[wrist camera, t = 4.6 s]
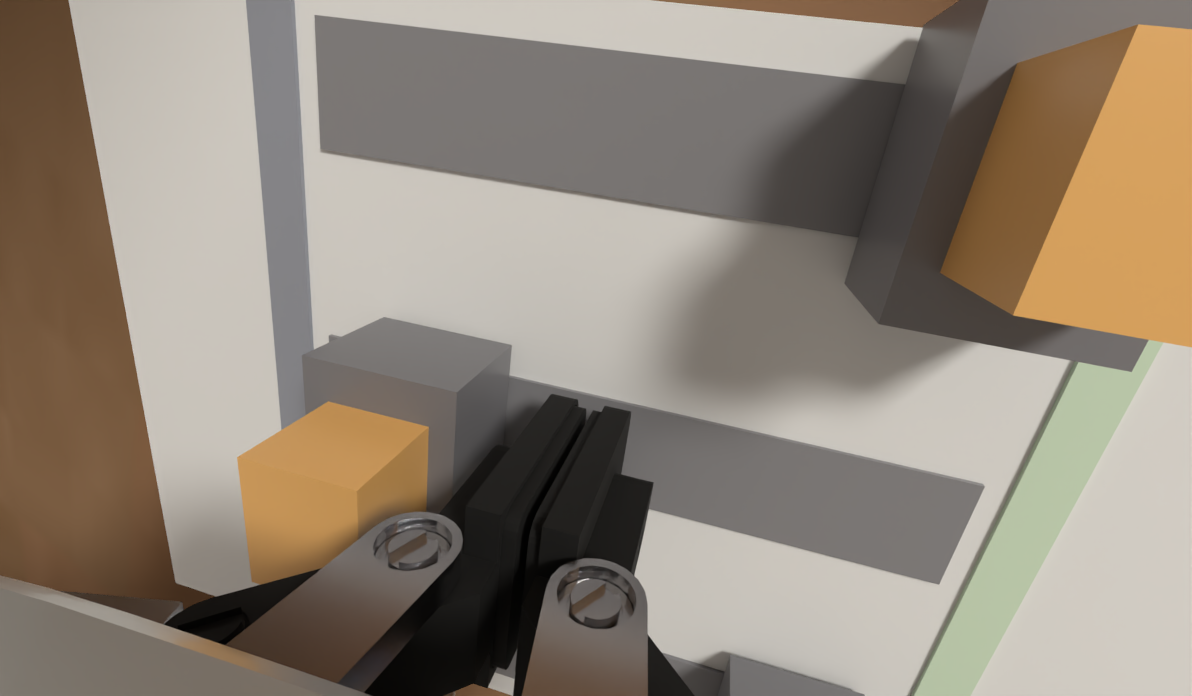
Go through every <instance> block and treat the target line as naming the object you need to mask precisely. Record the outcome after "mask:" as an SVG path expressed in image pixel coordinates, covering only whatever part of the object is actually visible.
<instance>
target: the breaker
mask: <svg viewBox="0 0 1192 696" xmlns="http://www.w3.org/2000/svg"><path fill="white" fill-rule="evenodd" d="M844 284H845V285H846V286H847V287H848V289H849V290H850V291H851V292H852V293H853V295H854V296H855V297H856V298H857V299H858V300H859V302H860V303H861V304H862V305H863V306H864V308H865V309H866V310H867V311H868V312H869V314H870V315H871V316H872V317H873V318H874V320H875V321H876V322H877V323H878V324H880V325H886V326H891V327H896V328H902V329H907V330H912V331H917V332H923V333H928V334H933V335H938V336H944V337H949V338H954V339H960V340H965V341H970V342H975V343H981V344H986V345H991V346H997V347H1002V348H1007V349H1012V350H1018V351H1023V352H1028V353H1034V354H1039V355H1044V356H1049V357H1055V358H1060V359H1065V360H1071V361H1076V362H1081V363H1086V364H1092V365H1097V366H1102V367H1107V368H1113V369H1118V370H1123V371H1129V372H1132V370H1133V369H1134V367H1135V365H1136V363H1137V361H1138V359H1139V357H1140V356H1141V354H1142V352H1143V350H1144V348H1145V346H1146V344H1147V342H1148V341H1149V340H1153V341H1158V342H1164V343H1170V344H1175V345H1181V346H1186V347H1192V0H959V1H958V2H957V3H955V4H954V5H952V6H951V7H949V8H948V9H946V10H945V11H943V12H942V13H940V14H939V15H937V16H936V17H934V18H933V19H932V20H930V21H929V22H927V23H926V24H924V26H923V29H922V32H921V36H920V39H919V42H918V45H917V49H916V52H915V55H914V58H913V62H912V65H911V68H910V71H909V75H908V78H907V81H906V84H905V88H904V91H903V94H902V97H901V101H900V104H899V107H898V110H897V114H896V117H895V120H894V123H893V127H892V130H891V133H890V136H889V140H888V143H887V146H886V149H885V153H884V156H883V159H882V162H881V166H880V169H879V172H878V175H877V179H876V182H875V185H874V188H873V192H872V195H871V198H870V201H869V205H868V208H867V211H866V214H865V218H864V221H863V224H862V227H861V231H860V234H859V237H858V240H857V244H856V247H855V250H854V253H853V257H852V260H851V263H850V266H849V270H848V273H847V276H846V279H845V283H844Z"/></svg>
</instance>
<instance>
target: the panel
mask: <svg viewBox="0 0 1192 696" xmlns="http://www.w3.org/2000/svg"><path fill="white" fill-rule="evenodd" d="M69 6H70V11H71V16H72V22H73V27H74V33H75V38H76V44H77V49H78V55H79V60H80V65H81V71H82V76H83V82H84V87H85V93H86V98H87V103H88V109H89V114H90V120H91V125H92V131H93V136H94V142H95V147H96V152H97V158H98V163H99V169H100V174H101V180H102V185H103V190H104V196H105V201H106V207H107V212H108V218H109V223H110V229H111V234H112V239H113V245H114V250H115V256H116V261H117V267H118V272H119V278H120V283H121V288H122V294H123V299H124V305H125V310H126V316H127V321H128V326H129V332H130V337H131V343H132V348H133V354H134V359H135V365H136V370H137V375H138V381H139V386H140V392H141V397H142V403H143V408H144V413H145V419H146V424H147V430H148V435H149V441H150V446H151V452H152V457H153V462H154V468H155V473H156V479H157V484H158V490H159V495H160V501H161V506H162V511H163V517H164V522H165V528H166V533H167V539H168V544H169V549H170V555H171V560H172V566H173V571H174V577H175V582H176V583H177V584H180V585H183V586H186V587H189V588H192V589H195V590H198V591H201V592H204V593H207V594H210V595H213V596H216V597H217V596H220V595H224V594H228V593H231V592H235V591H239V590H243V589H246V588H250V587H254V586H257V585H260V584H257V583H254V582H252V579H251V571H250V563H249V554H248V546H247V537H246V529H245V520H244V512H243V504H242V495H241V487H240V478H239V470H238V462H237V457H238V456H240V455H241V454H243V453H245V452H246V451H248V450H250V449H251V448H253V447H255V446H256V445H258V444H259V443H261V442H263V441H264V440H266V439H268V438H269V437H271V436H273V435H274V434H276V433H277V432H279V431H281V430H282V429H284V428H286V427H287V426H289V425H291V424H292V423H294V422H295V421H297V420H299V419H300V418H302V417H304V416H305V415H306V414H305V398H304V383H303V367H302V355H303V354H306V353H308V352H310V351H312V350H314V349H316V348H318V347H321V346H323V345H325V344H327V343H329V342H331V341H333V340H336V339H338V338H340V337H342V336H344V335H346V334H348V333H351V332H353V331H355V330H357V329H359V328H361V327H363V326H366V325H368V324H370V323H372V322H374V321H376V320H378V319H381V318H383V317H386V318H391V319H396V320H400V321H405V322H409V323H414V324H418V325H423V326H428V327H432V328H437V329H441V330H446V331H450V332H455V333H459V334H464V335H469V336H473V337H478V338H482V339H487V340H491V341H496V342H501V343H505V344H510V345H512V350H511V362H510V374H509V386H508V397H507V409H506V421H505V432H504V444H503V445H504V446H508V447H511V446H512V445H513V443H514V442H515V441H516V439H517V438H518V437H519V435H520V434H521V433H522V431H523V430H524V429H525V428H526V426H527V425H528V424H529V422H530V421H531V420H532V418H533V417H534V416H535V414H536V413H537V412H538V411H539V409H540V408H541V407H542V405H543V404H544V403H545V401H546V400H547V399H548V397H549V396H550V395H551V394H555V395H560V396H564V397H569V398H573V399H578V404H579V406H578V407H582V408H586V421H585V424H586V422H587V420H588V418H589V417H590V415H591V413H592V411H593V410H595V411H599V412H602V410H603V408H604V406H609V407H613V408H618V409H622V410H627V411H631V420H630V426H629V432H628V438H627V444H626V449H625V455H624V461H623V467H622V473H621V474H622V475H626V476H630V477H634V478H638V479H642V480H646V481H650V482H654V484H653V490H652V495H651V500H650V505H649V510H648V515H647V520H646V525H645V530H644V535H643V539H642V544H641V549H640V553H639V557H638V562H637V566H636V570H635V574H634V576H635V577H636V578H637V579H638V580H639V582H640V583H641V585H642V587H643V588H644V590H645V593H646V598H647V603H648V635H649V637H650V638H651V639H652V641H653V642H654V643H655V645H656V646H657V647H658V649H659V650H660V651H661V652H662V654H663V655H664V656H665V658H666V659H667V660H668V662H669V663H670V664H671V666H672V667H673V668H674V669H675V671H676V672H677V673H678V675H679V676H680V677H681V679H682V680H683V681H684V682H685V684H686V685H687V686H688V688H689V689H690V690H691V692H692V693H693V694H694V696H718V693H719V689H720V686H721V683H722V680H723V676H724V673H725V670H726V667H727V663H728V660H729V657H730V654H731V655H735V656H738V657H741V658H745V659H748V660H751V661H755V662H758V663H761V664H765V665H768V666H771V667H775V668H778V669H782V670H785V671H788V672H792V673H795V674H798V675H802V676H805V677H808V678H812V679H815V680H818V681H822V682H825V683H828V684H832V685H835V686H838V687H842V688H845V689H848V690H852V691H855V692H858V693H862V694H864V695H865V696H1192V347H1186V346H1181V345H1175V344H1170V343H1164V342H1158V341H1153V340H1149V341H1148V342H1147V344H1146V346H1145V348H1144V350H1143V352H1142V354H1141V356H1140V357H1139V359H1138V361H1137V363H1136V365H1135V367H1134V369H1133V370H1132V372H1129V371H1123V370H1118V369H1113V368H1107V367H1102V366H1097V365H1092V364H1086V363H1081V362H1076V361H1071V360H1065V359H1060V358H1055V357H1049V356H1044V355H1039V354H1034V353H1028V352H1023V351H1018V350H1012V349H1007V348H1002V347H997V346H991V345H986V344H981V343H975V342H970V341H965V340H960V339H954V338H949V337H944V336H938V335H933V334H928V333H923V332H917V331H912V330H907V329H902V328H896V327H891V326H886V325H880V324H878V323H877V322H876V321H875V320H874V318H873V317H872V316H871V315H870V314H869V312H868V311H867V310H866V309H865V308H864V306H863V305H862V304H861V303H860V302H859V300H858V299H857V298H856V297H855V296H854V295H853V293H852V292H851V291H850V290H849V289H848V287H847V286H846V285H845V284H844V283H845V279H846V276H847V273H848V270H849V266H850V263H851V260H852V257H853V253H854V250H855V247H856V244H857V240H858V237H859V234H860V231H861V227H862V224H863V221H864V218H865V214H866V211H867V208H868V205H869V201H870V198H871V195H872V192H873V188H874V185H875V182H876V179H877V175H878V172H879V169H880V166H881V162H882V159H883V156H884V153H885V149H886V146H887V143H888V140H889V136H890V133H891V130H892V127H893V123H894V120H895V117H896V114H897V110H898V107H899V104H900V101H901V97H902V94H903V91H904V88H905V84H906V81H907V78H908V75H909V71H910V68H911V65H912V62H913V58H914V55H915V52H916V49H917V45H918V42H919V39H920V36H921V32H922V29H923V28H919V27H909V26H899V25H889V24H879V23H869V22H859V21H850V20H840V19H830V18H820V17H810V16H800V15H790V14H780V13H770V12H760V11H750V10H741V9H731V8H721V7H711V6H701V5H691V4H681V3H671V2H661V1H651V0H69ZM516 656H517V650H516V652H515V654H514V657H513V659H512V661H511V663H510V665H509V667H508V669H507V670H504V669H501V668H498V667H497V669H496V671H495V673H494V675H493V677H492V680H491V682H490V684H489V686H488V688H491V689H494V690H497V691H500V692H503V693H506V694H509V695H512V696H513V690H514V680H515V665H516Z"/></svg>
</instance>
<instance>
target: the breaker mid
mask: <svg viewBox="0 0 1192 696" xmlns="http://www.w3.org/2000/svg"><path fill="white" fill-rule="evenodd" d="M511 350H512V345H510V344H505V343H501V342H496V341H491V340H487V339H482V338H478V337H473V336H469V335H464V334H459V333H455V332H450V331H446V330H441V329H437V328H432V327H428V326H423V325H418V324H414V323H409V322H405V321H400V320H396V319H391V318H386V317H383V318H381V319H378V320H376V321H374V322H372V323H370V324H368V325H366V326H363V327H361V328H359V329H357V330H355V331H353V332H351V333H348V334H346V335H344V336H342V337H340V338H338V339H336V340H333V341H331V342H329V343H327V344H325V345H323V346H321V347H318V348H316V349H314V350H312V351H310V352H308V353H306V354H303V355H302V367H303V383H304V398H305V414H306V415H305V416H304V417H302V418H300V419H299V420H297V421H295V422H294V423H292V424H291V425H289V426H287V427H286V428H284V429H282V430H281V431H279V432H277V433H276V434H274V435H273V436H271V437H269V438H268V439H266V440H264V441H263V442H261V443H259V444H258V445H256V446H255V447H253V448H251V449H250V450H248V451H246V452H245V453H243V454H241V455H240V456H238V457H237V462H238V470H239V478H240V487H241V495H242V504H243V512H244V520H245V529H246V537H247V546H248V554H249V563H250V571H251V579H252V582H254V583H257V584H260V585H261V584H265V583H268V582H272V581H276V580H280V579H283V578H287V577H291V576H294V575H298V574H302V573H305V572H309V571H313V570H317V569H320V568H323V567H324V566H326V565H327V564H328V563H329V562H331V561H332V560H333V559H334V558H336V557H337V556H338V555H339V554H341V553H342V552H343V551H344V550H346V549H347V548H348V547H349V546H351V545H352V544H353V543H355V542H356V541H357V540H358V539H360V538H361V537H362V536H363V535H365V534H366V533H367V532H368V531H370V530H371V529H372V528H373V527H375V526H376V525H378V524H379V523H381V522H383V521H384V520H386V519H388V518H391V517H393V516H396V515H399V514H403V513H410V512H432V513H435V514H439V513H440V512H441V511H442V509H443V508H444V507H445V506H446V504H447V503H448V502H449V501H450V500H451V498H452V497H453V496H454V495H455V493H456V492H457V491H458V490H459V489H460V487H461V486H462V485H463V484H464V483H465V481H466V480H467V479H468V478H469V476H470V475H471V474H472V473H473V472H474V470H475V469H476V468H477V467H478V465H479V464H480V463H481V462H482V461H483V459H484V458H485V457H486V456H487V455H488V453H489V452H490V451H491V450H492V448H494V447H495V446H496V445H503V444H504V432H505V421H506V409H507V397H508V386H509V374H510V362H511Z"/></svg>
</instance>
